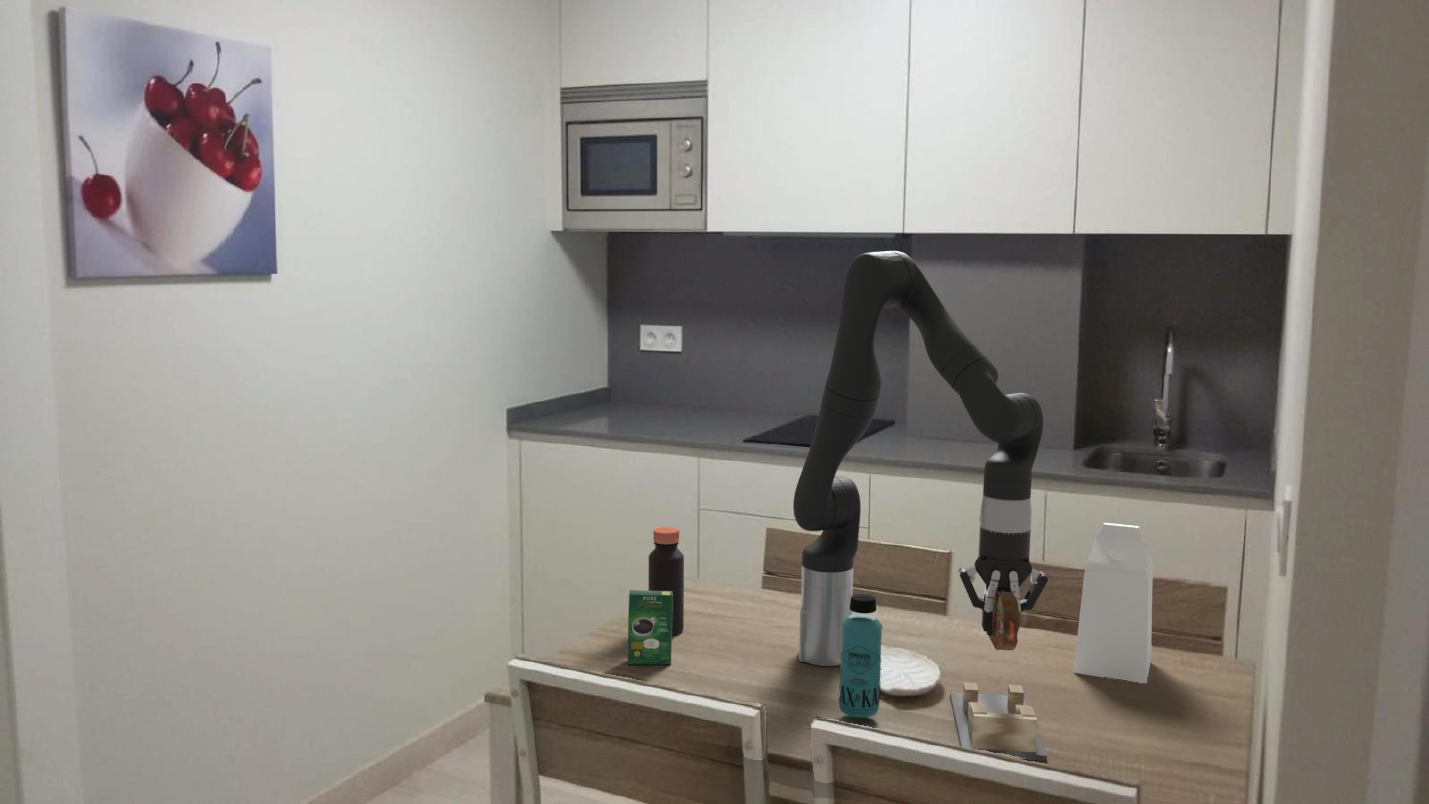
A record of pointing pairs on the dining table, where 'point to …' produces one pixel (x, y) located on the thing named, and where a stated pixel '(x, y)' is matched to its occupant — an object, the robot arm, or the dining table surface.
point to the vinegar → (668, 572)
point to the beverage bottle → (860, 659)
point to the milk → (1116, 607)
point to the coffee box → (650, 627)
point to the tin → (1005, 621)
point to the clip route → (997, 722)
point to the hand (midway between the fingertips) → (1000, 633)
